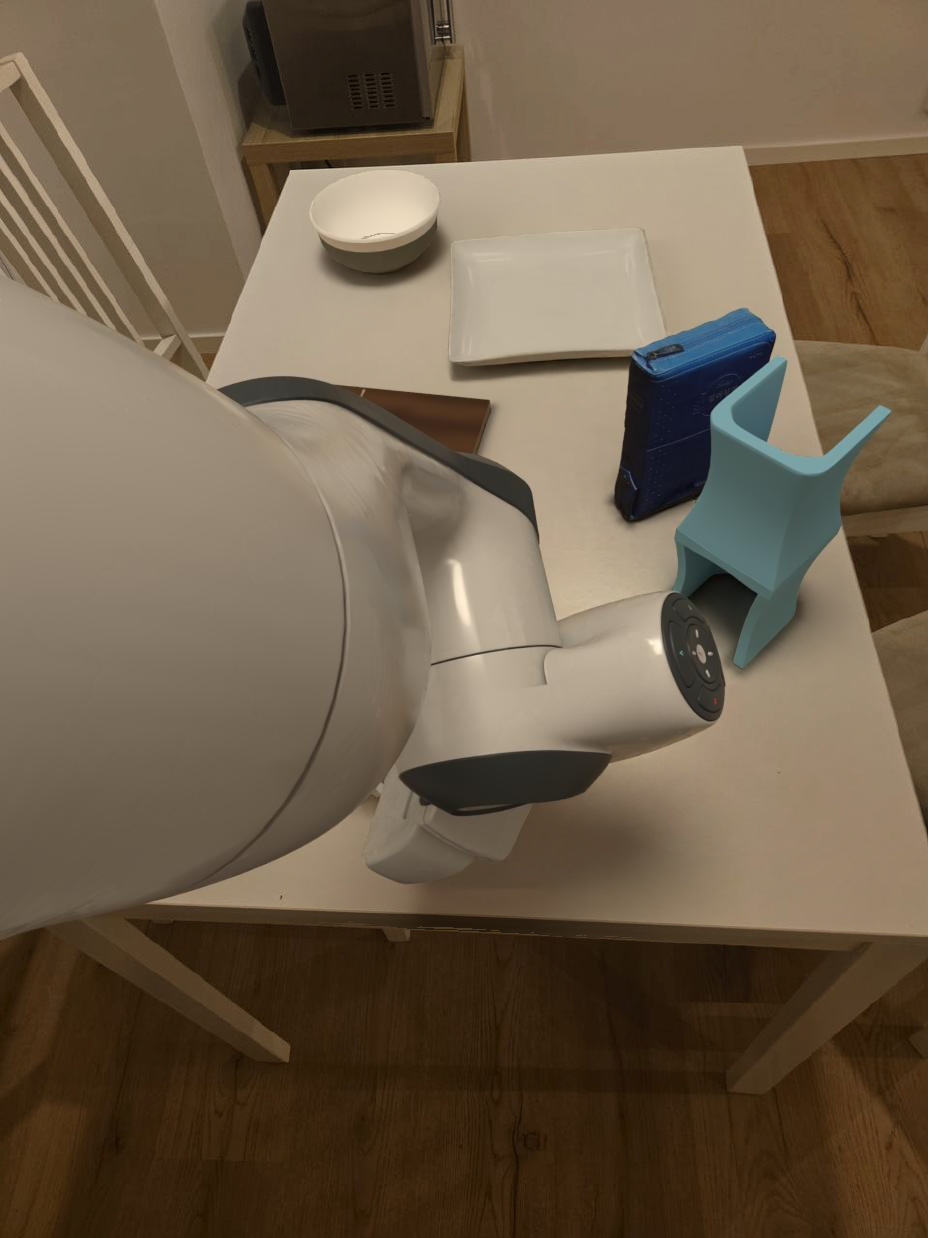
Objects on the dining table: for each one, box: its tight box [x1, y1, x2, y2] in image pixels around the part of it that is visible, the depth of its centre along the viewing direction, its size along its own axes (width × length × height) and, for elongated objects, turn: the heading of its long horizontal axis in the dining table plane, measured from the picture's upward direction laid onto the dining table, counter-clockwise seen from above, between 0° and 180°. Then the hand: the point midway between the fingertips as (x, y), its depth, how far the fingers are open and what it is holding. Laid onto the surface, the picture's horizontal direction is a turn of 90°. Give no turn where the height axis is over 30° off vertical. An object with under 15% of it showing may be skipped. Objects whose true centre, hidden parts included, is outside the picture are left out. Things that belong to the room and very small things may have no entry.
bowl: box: [308, 169, 442, 275], centre depth 116 cm, size 19×19×8 cm
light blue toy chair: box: [671, 354, 893, 670], centre depth 70 cm, size 10×10×25 cm
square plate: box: [447, 227, 670, 367], centre depth 107 cm, size 27×27×4 cm
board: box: [332, 383, 492, 455], centre depth 90 cm, size 42×26×2 cm, turn 166°
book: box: [613, 307, 777, 521], centre depth 81 cm, size 14×5×20 cm, turn 115°
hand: (381, 754), depth 63 cm, fingers closed on cuneiform tablet, 4 cm apart
